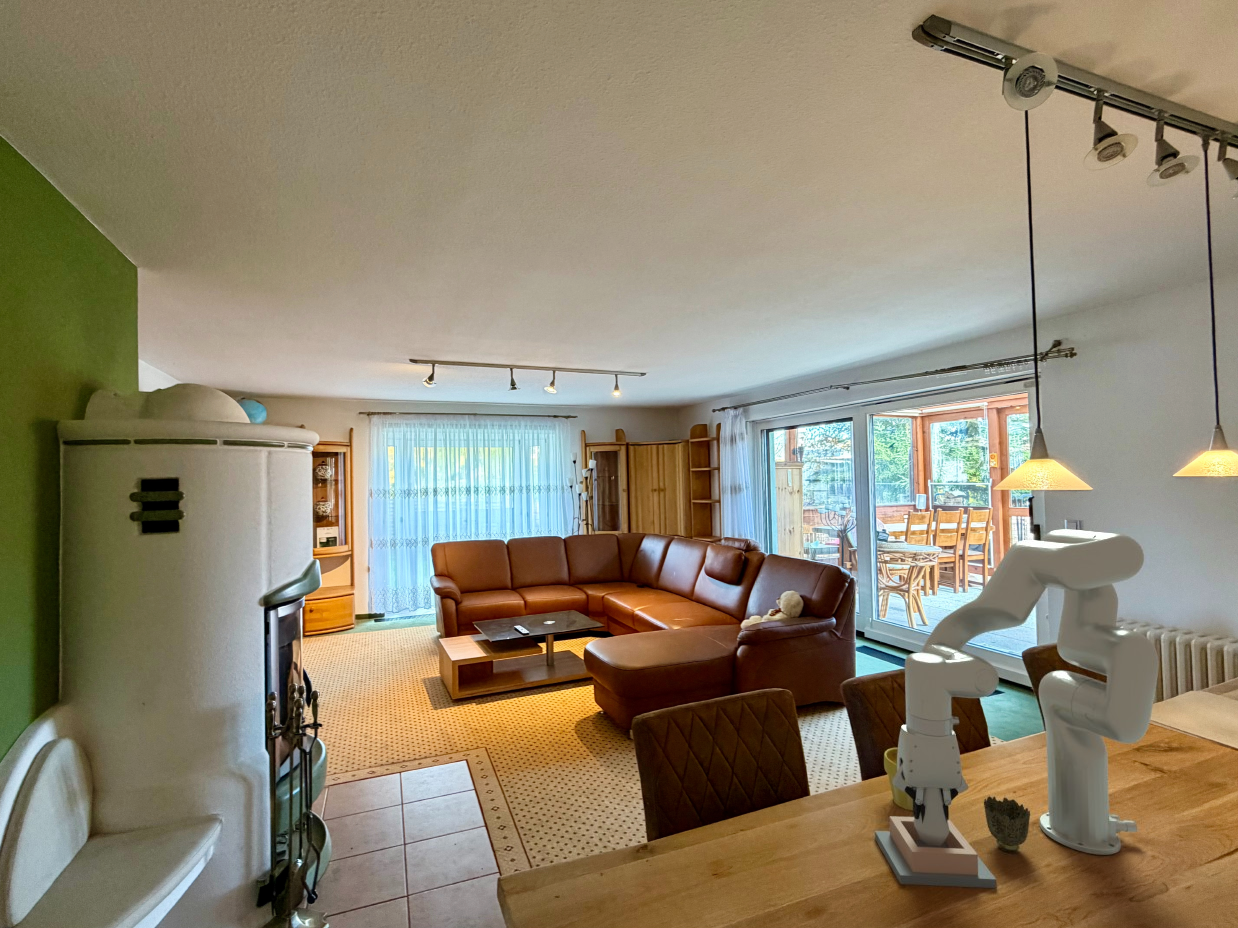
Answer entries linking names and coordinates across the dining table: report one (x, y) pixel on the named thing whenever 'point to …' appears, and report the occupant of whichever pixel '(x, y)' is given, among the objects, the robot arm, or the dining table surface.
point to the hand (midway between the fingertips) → (930, 821)
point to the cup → (1007, 822)
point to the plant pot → (891, 769)
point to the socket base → (932, 857)
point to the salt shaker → (932, 818)
